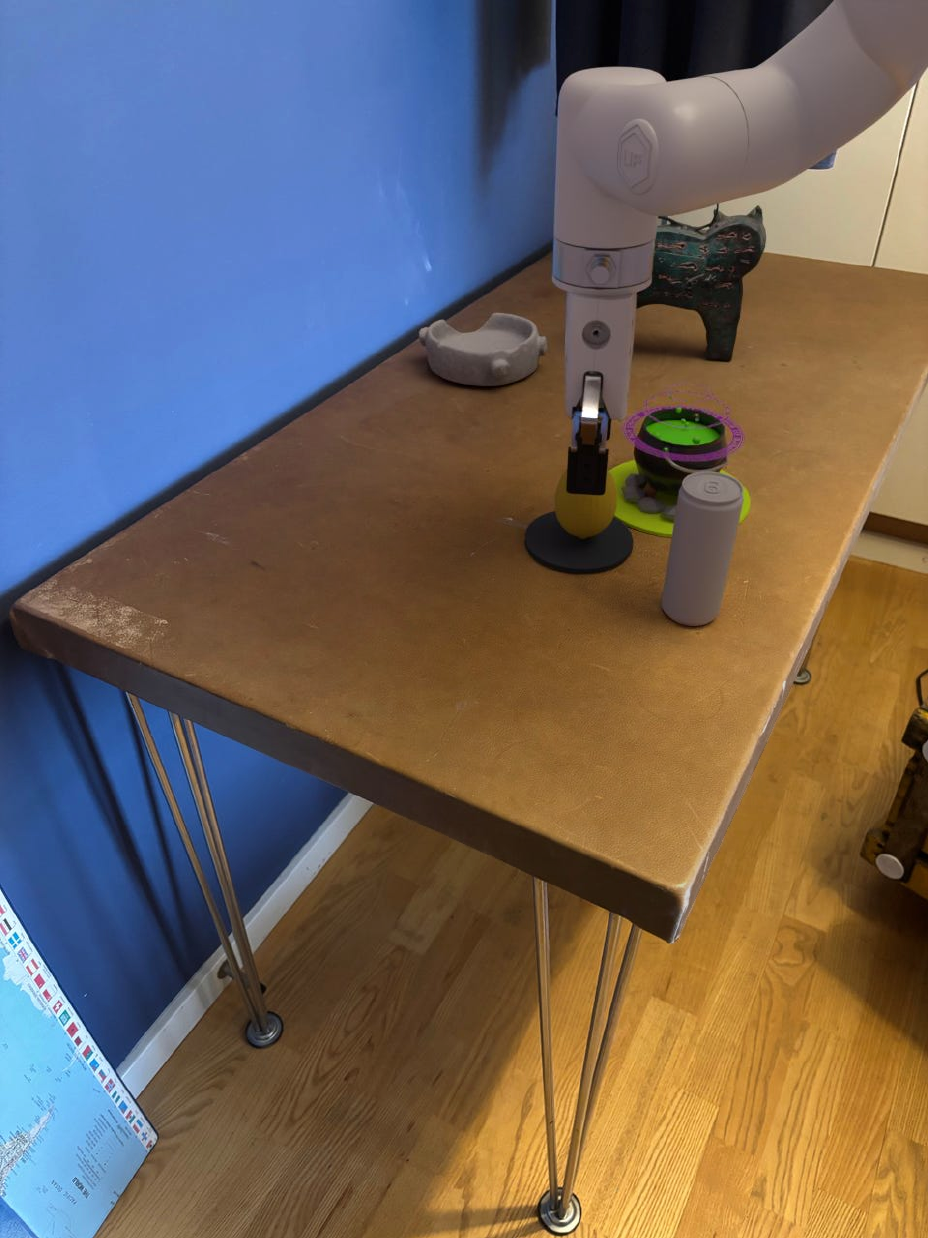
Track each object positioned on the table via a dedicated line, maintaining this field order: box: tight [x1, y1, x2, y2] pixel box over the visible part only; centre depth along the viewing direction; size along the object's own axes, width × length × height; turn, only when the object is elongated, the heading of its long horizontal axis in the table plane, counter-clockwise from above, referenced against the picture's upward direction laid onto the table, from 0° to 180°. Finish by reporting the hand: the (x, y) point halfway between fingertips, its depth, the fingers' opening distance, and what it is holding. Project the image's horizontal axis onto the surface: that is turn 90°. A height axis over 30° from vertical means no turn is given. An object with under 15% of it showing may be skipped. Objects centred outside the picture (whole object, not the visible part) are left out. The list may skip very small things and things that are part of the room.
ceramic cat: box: [636, 203, 767, 362], centre depth 112 cm, size 20×6×20 cm, turn 76°
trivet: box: [523, 510, 634, 575], centre depth 84 cm, size 10×10×1 cm
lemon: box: [553, 468, 617, 539], centre depth 81 cm, size 6×6×8 cm
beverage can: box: [661, 471, 744, 627], centre depth 72 cm, size 5×5×12 cm
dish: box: [418, 312, 548, 387], centre depth 113 cm, size 14×14×5 cm
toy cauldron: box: [608, 382, 751, 538], centre depth 87 cm, size 15×15×11 cm
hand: (588, 464), depth 79 cm, fingers open, 9 cm apart
